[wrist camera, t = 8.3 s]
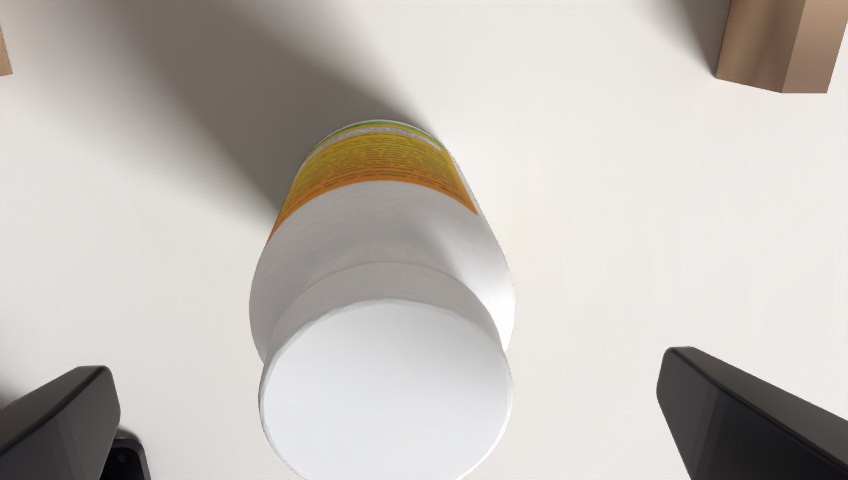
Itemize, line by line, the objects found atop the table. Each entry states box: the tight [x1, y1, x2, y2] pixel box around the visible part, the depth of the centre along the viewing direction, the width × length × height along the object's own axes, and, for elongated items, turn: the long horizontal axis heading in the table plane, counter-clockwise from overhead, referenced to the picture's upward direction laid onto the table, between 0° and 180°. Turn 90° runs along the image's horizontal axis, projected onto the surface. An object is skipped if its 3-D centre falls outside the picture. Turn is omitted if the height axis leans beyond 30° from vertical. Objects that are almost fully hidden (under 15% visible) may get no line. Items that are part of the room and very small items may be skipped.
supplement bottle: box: [249, 119, 515, 480], centre depth 13 cm, size 5×5×10 cm
